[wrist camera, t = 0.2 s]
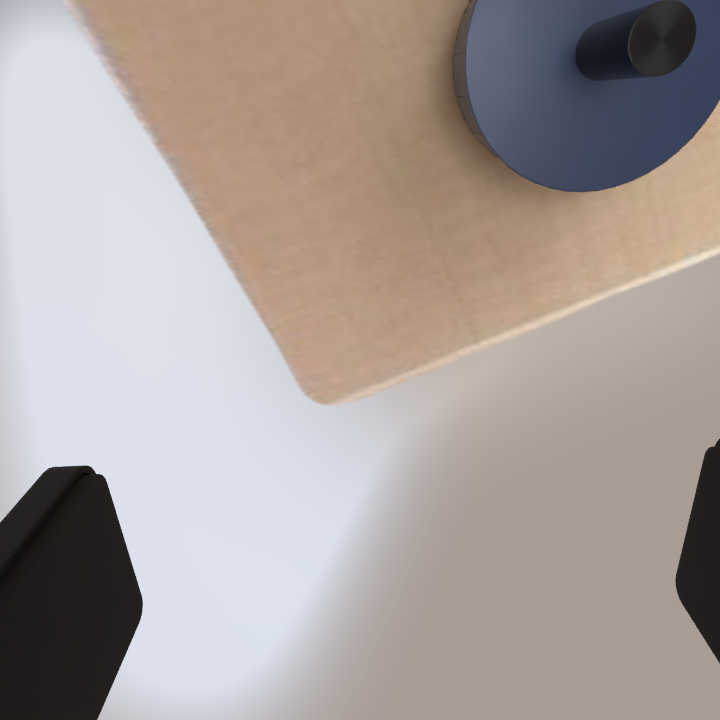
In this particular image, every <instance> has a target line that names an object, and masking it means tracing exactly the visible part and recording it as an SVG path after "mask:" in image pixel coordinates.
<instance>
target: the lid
mask: <svg viewBox="0 0 720 720" xmlns="http://www.w3.org/2000/svg"><path fill="white" fill-rule="evenodd" d="M464 79H465V87H466V94H467V98H468V102H469V106H470V110H471V113H472V115H473V118H474V120H475V123H476V125H477V128H478V129H479V131H480V133H481V135H482V137H483V138H484V140H485V142H486V143H487V144H488V146H489V147H490V148H491V150H492V151H493V152H494V154H495V155H496V156H497V157H498V158H499V159H500V160H501V161H502V162H503V163H504V164H505V165H506V166H508V167H509V168H510V169H512V170H513V171H515V172H516V173H517V174H519V175H520V176H522V177H524V178H526V179H528V180H530V181H532V182H534V183H536V184H539V185H542V186H545V187H548V188H551V189H556V190H561V191H569V192H589V191H599V190H604V189H608V188H613V187H616V186H619V185H622V184H625V183H628V182H631V181H633V180H635V179H637V178H639V177H641V176H643V175H645V174H647V173H649V172H651V171H652V170H654V169H655V168H657V167H659V166H660V165H662V164H663V163H664V162H666V161H667V160H668V159H670V158H671V157H672V156H673V155H675V154H676V153H677V152H678V151H679V150H680V149H681V148H682V147H683V146H684V145H686V144H687V143H688V142H689V141H690V140H691V139H692V138H693V136H694V135H695V134H696V133H697V132H698V130H699V129H700V128H701V127H702V126H703V124H704V123H705V122H706V120H707V119H708V117H709V116H710V114H711V113H712V112H713V110H714V109H715V107H716V106H717V104H718V102H719V100H720V0H475V3H474V5H473V8H472V11H471V14H470V19H469V23H468V28H467V32H466V39H465V48H464Z"/></svg>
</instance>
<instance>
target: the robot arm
mask: <svg viewBox="0 0 720 720" xmlns="http://www.w3.org/2000/svg"><path fill="white" fill-rule="evenodd" d="M676 589H677V593H678V596H679V598H680V600H681V602H682V604H683V606H684V607H685V609H686V611H687V612H688V613H689V615H690V617H691V618H692V620H693V622H694V623H695V625H696V626H697V628H698V629H699V631H700V633H701V634H702V636H703V638H704V639H705V641H706V642H707V644H708V645H709V647H710V649H711V650H712V652H713V653H714V655H715V656H716V658H717V660H718V661H719V663H720V439H719V440H718V441H717V443H716V445H715V447H710V448H709V449H708V450H707V451H706V453H705V456H704V460H703V464H702V468H701V472H700V477H699V481H698V485H697V489H696V494H695V498H694V502H693V506H692V510H691V515H690V519H689V523H688V527H687V532H686V536H685V540H684V544H683V548H682V553H681V557H680V561H679V565H678V570H677V574H676ZM142 607H143V602H142V595H141V592H140V589H139V586H138V582H137V579H136V576H135V573H134V569H133V566H132V563H131V559H130V556H129V553H128V550H127V546H126V543H125V540H124V537H123V533H122V530H121V527H120V524H119V520H118V517H117V514H116V511H115V507H114V504H113V501H112V497H111V494H110V491H109V488H108V485H107V482H106V479H105V478H104V476H103V475H100V474H96V473H95V471H94V470H93V469H92V468H91V467H89V466H65V467H52V468H49V469H47V470H46V471H45V472H44V473H43V474H42V475H41V476H40V477H39V479H38V480H37V481H36V482H35V483H34V484H33V485H32V487H31V488H30V489H29V490H28V491H27V492H26V494H25V495H24V496H23V497H22V498H21V499H20V501H19V502H18V503H17V504H16V505H15V506H14V508H13V509H12V510H11V511H10V512H9V513H8V514H7V516H6V517H5V518H4V519H3V520H2V521H1V522H0V720H97V719H98V716H99V714H100V712H101V710H102V707H103V705H104V703H105V701H106V698H107V696H108V693H109V691H110V689H111V687H112V684H113V682H114V680H115V677H116V675H117V673H118V671H119V668H120V666H121V663H122V661H123V659H124V657H125V654H126V652H127V650H128V647H129V645H130V643H131V641H132V638H133V636H134V633H135V631H136V629H137V627H138V624H139V622H140V619H141V615H142Z"/></svg>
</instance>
